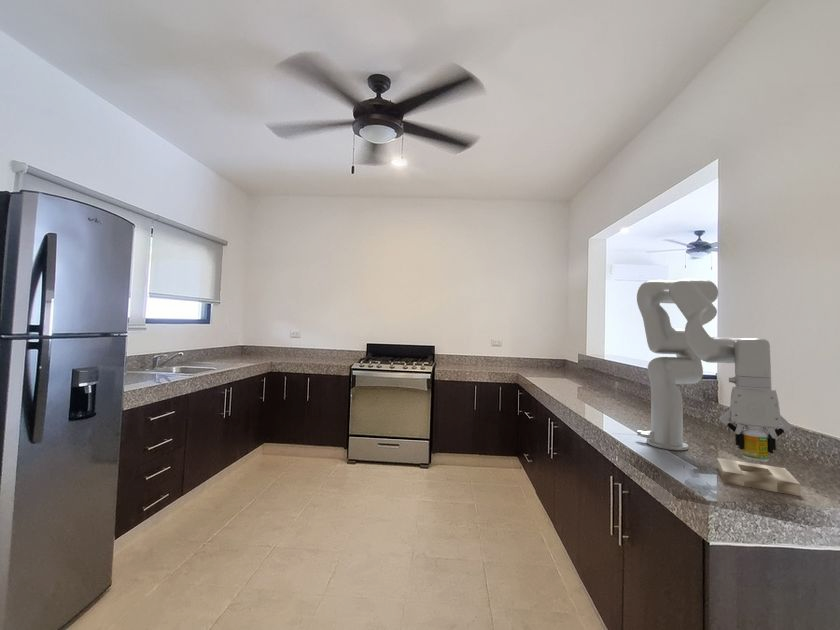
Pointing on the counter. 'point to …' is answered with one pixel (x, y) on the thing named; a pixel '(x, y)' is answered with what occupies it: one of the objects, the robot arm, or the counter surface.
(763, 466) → the socket board
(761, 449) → the supplement bottle
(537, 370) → the counter surface
